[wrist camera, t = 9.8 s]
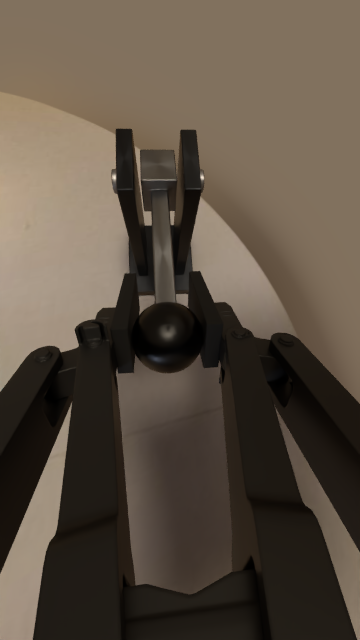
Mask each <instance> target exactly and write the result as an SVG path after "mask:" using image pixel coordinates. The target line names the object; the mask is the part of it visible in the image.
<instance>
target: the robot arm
mask: <svg viewBox="0 0 360 640" xmlns="http://www.w3.org/2000/svg"><path fill="white" fill-rule="evenodd" d="M188 307H189V309H190V310H191V311H192V312H193V313H194V314H195V315H196V317H197V318H198V320H199V322H200V324H201V327H202V331H203V344H202V348H201V351H200V355H201V359H202V363H203V367H204V368H210V367H218V363H219V360H220V363H221V371H220V378H219V383H220V384H221V390H222V403H223V416H224V429H225V442H226V455H227V468H228V481H229V494H230V507H231V521H232V571H233V572H231V573H230V574H228V575H226V576H224V577H223V578H221V579H219V580H217V581H216V582H214V583H212V584H211V585H209V586H207V587H205V588H204V589H202V590H200V591H198V592H197V593H195V594H192V595H188V594H184V593H180V592H176V591H172V590H168V589H164V588H160V587H156V586H152V585H149V584H143V585H136V584H135V573H134V565H133V558H132V551H131V542H130V530H129V518H128V505H127V493H126V481H125V469H124V457H123V444H122V432H121V420H120V408H119V395H118V383H117V376H116V370H117V369H118V374H119V373H134V363H135V352H134V349H133V345H132V330H133V326H134V323H135V321H136V319H137V318H138V316H139V311H140V306H139V296H138V286H137V276H136V273H129V274H125V275H124V279H123V282H122V286H121V290H120V294H119V297H118V301H117V305H116V308H102V309H101V310H100V311H99V312H98V313H97V316H96V319H95V320H88V321H84V322H82V323H80V324H79V325H78V326H76V328H75V333H76V336H77V340H78V343H79V347H78V348H76V349H72V350H69V351H65V352H60V350H59V348H57V347H55V346H45V347H41V348H39V349H36V350H35V351H33V352H31V353H30V354H29V355H28V356H27V357H26V359H25V360H24V361H23V363H22V364H21V365H20V367H19V368H18V369H17V371H16V372H15V373H14V375H13V376H12V377H11V379H10V380H9V381H8V383H7V384H6V385H5V387H4V388H3V389H2V391H1V392H0V573H1V571H2V568H3V566H4V563H5V561H6V559H7V556H8V554H9V551H10V549H11V547H12V544H13V542H14V539H15V537H16V535H17V532H18V530H19V527H20V525H21V523H22V520H23V518H24V515H25V513H26V511H27V508H28V506H29V503H30V501H31V499H32V496H33V494H34V491H35V489H36V487H37V484H38V482H39V479H40V477H41V475H42V472H43V470H44V467H45V465H46V463H47V460H48V458H49V455H50V453H51V451H52V448H53V446H54V443H55V441H56V439H57V436H58V434H59V431H60V429H61V427H62V424H63V422H64V419H65V417H66V415H67V412H68V410H69V407H70V405H71V403H72V409H71V417H70V426H69V434H68V442H67V451H66V459H65V468H64V476H63V485H62V493H61V502H60V510H59V519H58V526H57V531H56V534H55V536H54V537H53V539H52V540H51V541H50V542H49V545H48V548H47V551H46V555H45V560H44V565H43V572H42V579H41V586H40V593H39V600H38V607H37V614H36V621H35V628H34V635H33V640H357V638H356V635H355V632H354V629H353V626H352V623H351V619H350V616H349V613H348V610H347V607H346V604H345V601H344V598H343V595H342V592H341V589H340V585H339V582H338V579H337V576H336V573H335V570H334V567H333V564H332V561H331V558H330V555H329V551H328V548H327V545H326V542H325V539H324V536H323V533H322V530H321V527H320V525H319V522H318V520H317V518H316V516H315V515H314V513H313V511H312V510H311V509H309V508H308V507H307V506H305V504H304V503H303V501H302V499H301V496H300V493H299V489H298V486H297V482H296V479H295V476H294V472H293V469H292V465H291V462H290V458H289V455H288V452H287V448H286V445H285V441H284V438H283V435H282V431H281V428H280V424H279V421H278V418H277V414H276V411H275V407H276V408H277V410H278V412H279V414H280V415H281V417H282V419H283V420H284V422H285V424H286V426H287V427H288V429H289V431H290V433H291V434H292V436H293V438H294V439H295V441H296V443H297V445H298V446H299V448H300V450H301V452H302V453H303V455H304V457H305V458H306V460H307V462H308V464H309V465H310V467H311V469H312V471H313V472H314V474H315V476H316V477H317V479H318V481H319V483H320V484H321V486H322V488H323V489H324V491H325V493H326V495H327V496H328V498H329V500H330V502H331V503H332V505H333V507H334V508H335V510H336V512H337V514H338V515H339V517H340V519H341V521H342V522H343V524H344V526H345V527H346V529H347V531H348V533H349V534H350V536H351V538H352V539H353V541H354V543H355V545H356V546H357V548H358V550H359V552H360V404H359V403H358V402H357V401H356V399H355V398H354V397H353V396H352V395H351V394H350V393H349V392H348V391H347V390H346V389H345V388H344V387H343V386H342V385H341V384H340V382H339V381H338V380H336V378H335V377H334V376H333V375H332V374H331V373H330V372H329V371H328V370H327V369H326V368H325V367H324V366H323V364H322V363H321V362H320V361H319V360H318V359H317V358H316V357H315V356H314V355H313V354H312V353H311V352H310V351H309V350H308V349H307V348H306V346H305V345H304V344H303V343H302V342H301V341H300V340H299V339H298V338H296V337H295V336H293V335H291V334H288V333H275V334H273V335H272V336H271V340H266V339H260V338H256V337H254V336H253V334H252V332H251V331H249V330H248V329H246V328H243V327H242V325H241V324H240V322H239V320H238V318H237V316H236V315H235V313H234V312H233V309H232V308H231V306H230V305H228V304H227V303H225V302H218V303H214V301H213V299H212V297H211V295H210V293H209V290H208V288H207V286H206V284H205V282H204V279H203V277H202V275H201V273H200V271H193V272H189V292H188ZM273 403H274V404H273ZM274 405H275V407H274Z"/></svg>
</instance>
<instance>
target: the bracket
mask: <svg viewBox="0 0 360 640" xmlns="http://www.w3.org/2000/svg"><path fill="white" fill-rule="evenodd" d="M111 176H112V185H113V190H114V192H115V193H116V194H118V198H119V202H120V206H121V209H122V213H123V217H124V221H125V225H126V229H127V232H128V236H129V272H130V273H136V276H137V286H138V295H155V285H154V261H153V236H152V226H145V224H144V217H143V209H142V202H141V194H140V186H139V179H138V171H137V163H136V156H135V148H134V141H133V133H132V129H116V169H112V172H111ZM203 188H204V171H203V170H202V169H200V166H199V155H198V145H197V134H196V130H181V131H180V146H179V160H178V174H177V191H176V210H175V217H174V225H171V238H172V251H173V264H174V277H175V290H176V294H182V293H188V292H189V272H193V269H192V257H191V244H190V243H191V239H192V234H193V229H194V224H195V219H196V215H197V210H198V205H199V200H200V196H201V193H202V192H203Z"/></svg>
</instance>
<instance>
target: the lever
mask: <svg viewBox="0 0 360 640" xmlns="http://www.w3.org/2000/svg"><path fill="white" fill-rule="evenodd" d="M140 162H141V186H142V196H143V205H144V211H152V236H153V261H154V285H155V304H153V305H151V306H149V307H148V308H146V309H145V310H144V311H143V312H142V313H141V314H140V315H139V316H138V318H137V319H136V321H135V323H134V326H133V330H132V345H133V349H134V352H135V354H136V356H137V357H138V359H139V360H140V361H141V362H142V363H143V364H144V365H145V366H146V367H148V368H149V369H151V370H153V371H156V372H159V373H175V372H179V371H181V370H184V369H185V368H187V367H188V366H190V365H191V364H192V363H193V362H194V361H195V360H196V358H197V357H198V355H199V353H200V351H201V348H202V344H203V331H202V327H201V324H200V322H199V320H198V318H197V317H196V315H195V314H194V313H193V312H192V311H191V310H190V309H188V308H187V307H185V306H184V305H181V304H179V303H176V290H175V277H174V264H173V251H172V238H171V224H170V211H175V210H176V191H177V175H176V167H175V155H174V150H140Z"/></svg>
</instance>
